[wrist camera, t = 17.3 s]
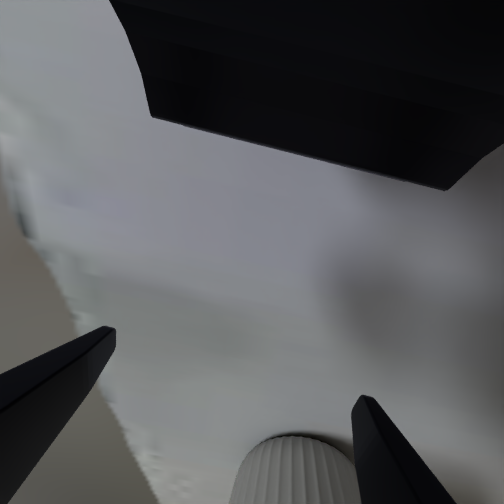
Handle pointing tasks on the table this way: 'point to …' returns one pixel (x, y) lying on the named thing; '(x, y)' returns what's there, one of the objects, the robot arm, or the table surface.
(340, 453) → the canister
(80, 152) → the table surface
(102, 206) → the table surface
